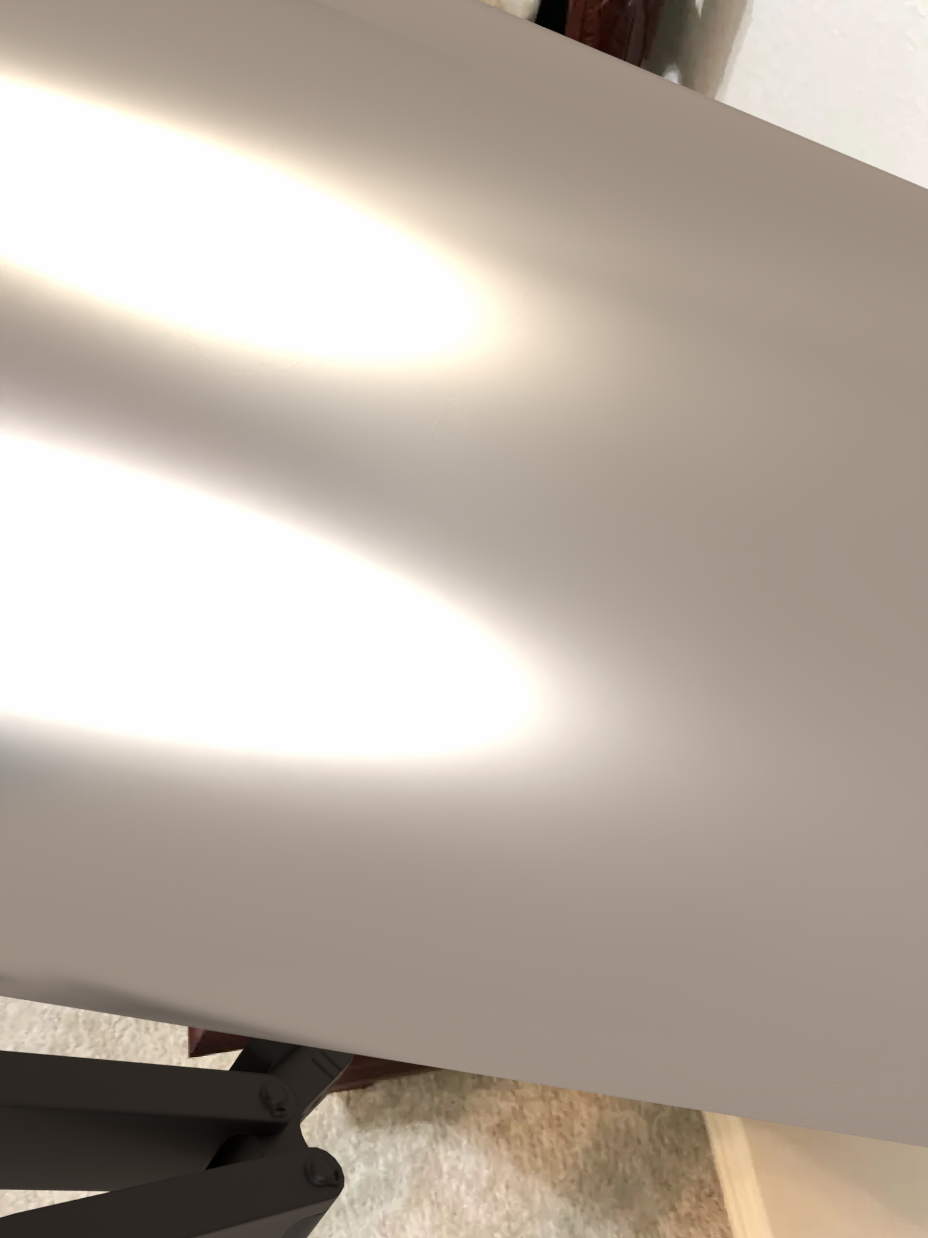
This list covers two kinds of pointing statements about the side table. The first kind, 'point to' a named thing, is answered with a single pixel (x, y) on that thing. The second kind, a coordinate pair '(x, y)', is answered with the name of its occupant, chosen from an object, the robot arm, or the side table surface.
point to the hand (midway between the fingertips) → (196, 823)
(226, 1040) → the side table surface
